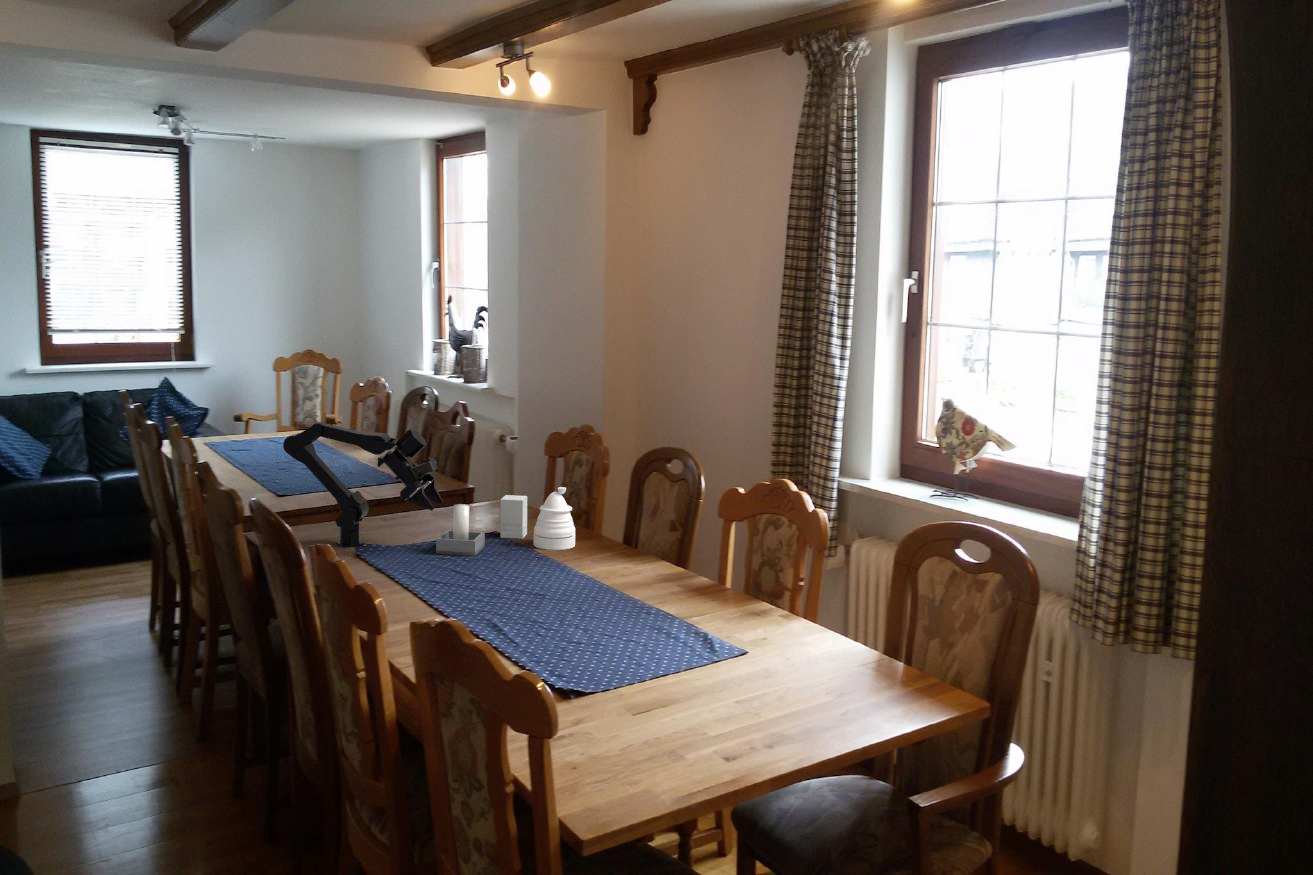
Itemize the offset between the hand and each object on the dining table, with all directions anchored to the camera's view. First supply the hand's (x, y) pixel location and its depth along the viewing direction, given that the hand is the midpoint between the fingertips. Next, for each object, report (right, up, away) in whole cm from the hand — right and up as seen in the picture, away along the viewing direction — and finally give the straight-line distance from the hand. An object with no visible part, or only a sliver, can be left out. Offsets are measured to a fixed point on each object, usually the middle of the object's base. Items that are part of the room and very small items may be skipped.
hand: (437, 506), depth 313 cm
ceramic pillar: (+7, -12, +1) cm, 14 cm away
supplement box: (+20, -11, +22) cm, 31 cm away
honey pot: (+34, -13, +12) cm, 38 cm away
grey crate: (+7, -13, +1) cm, 15 cm away
